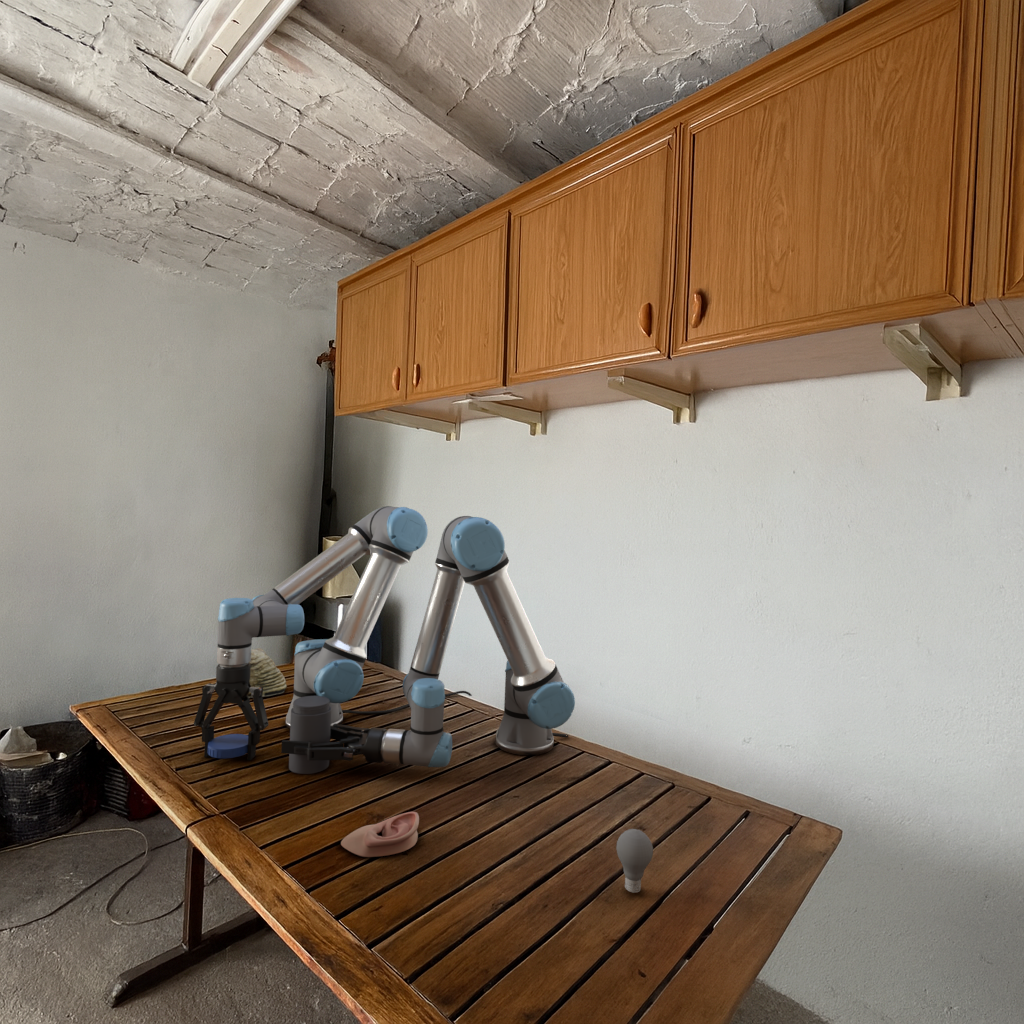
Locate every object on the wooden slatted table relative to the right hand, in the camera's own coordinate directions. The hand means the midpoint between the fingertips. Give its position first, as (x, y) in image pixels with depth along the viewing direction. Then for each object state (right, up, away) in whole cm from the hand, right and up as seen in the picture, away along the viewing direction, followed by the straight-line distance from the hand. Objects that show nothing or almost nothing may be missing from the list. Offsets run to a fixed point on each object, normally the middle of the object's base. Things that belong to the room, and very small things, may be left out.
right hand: (291, 738), depth 149 cm
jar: (+4, -6, 0) cm, 8 cm away
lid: (-15, -2, +2) cm, 16 cm away
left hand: (-16, -5, +3) cm, 17 cm away
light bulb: (+72, -10, -43) cm, 85 cm away
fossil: (-29, -4, +49) cm, 57 cm away
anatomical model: (+27, -8, -32) cm, 43 cm away
